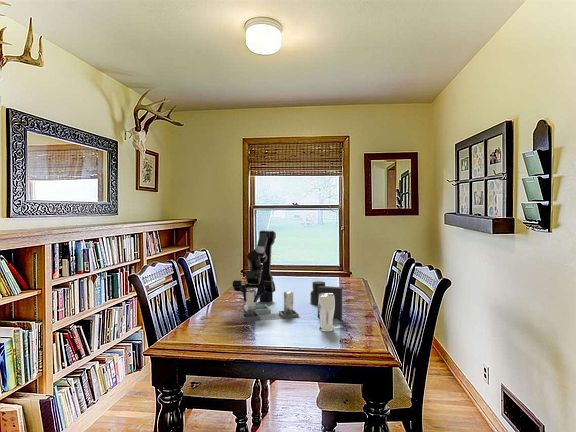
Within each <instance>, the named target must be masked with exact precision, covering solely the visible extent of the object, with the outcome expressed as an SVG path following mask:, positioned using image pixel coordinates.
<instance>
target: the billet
mask: <svg viewBox="0 0 576 432" xmlns="http://www.w3.org/2000/svg"><path fill="white" fill-rule="evenodd" d="M293 310H294V292H293V291H289V290H288V291H284V292H283V311H284V315H287V314H293Z"/></svg>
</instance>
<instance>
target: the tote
mask: <svg viewBox="0 0 576 432" xmlns="http://www.w3.org/2000/svg"><path fill="white" fill-rule="evenodd" d="M243 310H244V311H245V312H244V313H246V304H245V305H243ZM271 311H272V309H271V308H270V307H269V305H268V304H266V303H264V304H263V303H262V304H256V312H258V314H259V315H264V314H272V313H271Z"/></svg>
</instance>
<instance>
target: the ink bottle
mask: <svg viewBox="0 0 576 432" xmlns="http://www.w3.org/2000/svg"><path fill="white" fill-rule="evenodd" d="M311 285H312V287H311V288H312V290H311V291H310V292H309V293H310V294H309V295H310V303H309V304H310V305H315V306H318V296H317V288H318V287H319V286H326V282H325V281H321V280H317V281H316V280H315V281H312V284H311Z"/></svg>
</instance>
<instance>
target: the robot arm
mask: <svg viewBox="0 0 576 432" xmlns="http://www.w3.org/2000/svg"><path fill="white" fill-rule="evenodd" d="M276 237H277V233H276V232H275V231H274V230H269V229H266V230H263V229H262V230H259V231H258V240H257V245H256V247H255V248H254V249H252V251H250V252H248V253H247V255H246V258H247V261H248V265H249V267H250V269H249V270H246V271H245V278H246V282H243V281H242V280H241V279H234V280H233V281H232V283H231V284H232V288H233V291H235V292H240V293H242V295H243V301H244V303H246V291H248V290H247V289H256V297H255V302H256V303H257V302H258V301H259V302H260V303H271V302H273V301H274V300H273V298H274V297H273V293H274V292H276V284H275V281H274V278H273V275H272V273H271V263H272V247H273V245H274V243H275V242H276V241H275V239H276Z"/></svg>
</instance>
